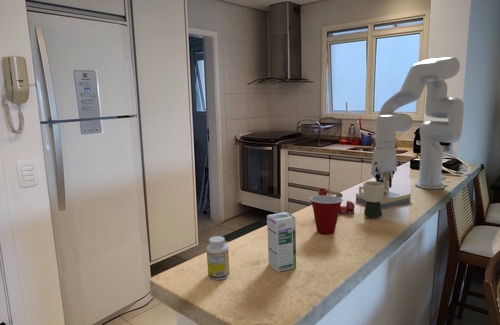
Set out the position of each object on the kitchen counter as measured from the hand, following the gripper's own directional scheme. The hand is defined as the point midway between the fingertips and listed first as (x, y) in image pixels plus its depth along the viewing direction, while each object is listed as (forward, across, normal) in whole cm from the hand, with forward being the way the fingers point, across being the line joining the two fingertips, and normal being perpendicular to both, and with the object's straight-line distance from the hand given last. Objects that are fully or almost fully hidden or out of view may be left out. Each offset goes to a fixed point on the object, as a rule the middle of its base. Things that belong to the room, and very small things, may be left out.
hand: (383, 187), depth 150 cm
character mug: (+6, +18, +12) cm, 22 cm away
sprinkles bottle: (+4, 0, 0) cm, 4 cm away
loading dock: (+6, 0, 0) cm, 6 cm away
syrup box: (+6, +68, +26) cm, 73 cm away
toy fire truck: (+6, +26, 0) cm, 27 cm away
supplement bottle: (+6, +85, +22) cm, 88 cm away
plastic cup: (+6, +42, +14) cm, 45 cm away
